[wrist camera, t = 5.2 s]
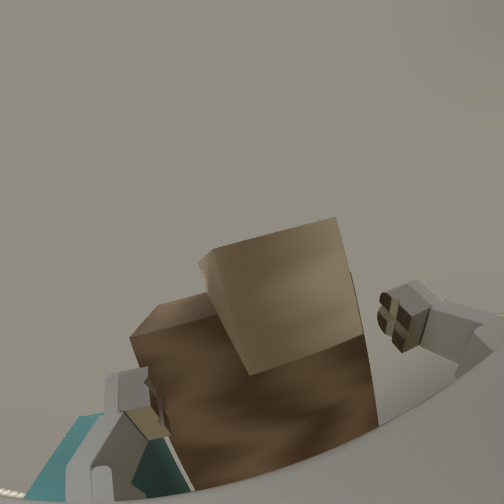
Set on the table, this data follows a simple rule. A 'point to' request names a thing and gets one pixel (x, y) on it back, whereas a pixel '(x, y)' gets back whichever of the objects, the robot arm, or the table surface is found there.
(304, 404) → the pillar
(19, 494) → the table surface
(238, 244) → the baton
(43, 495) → the teal rectangular block
